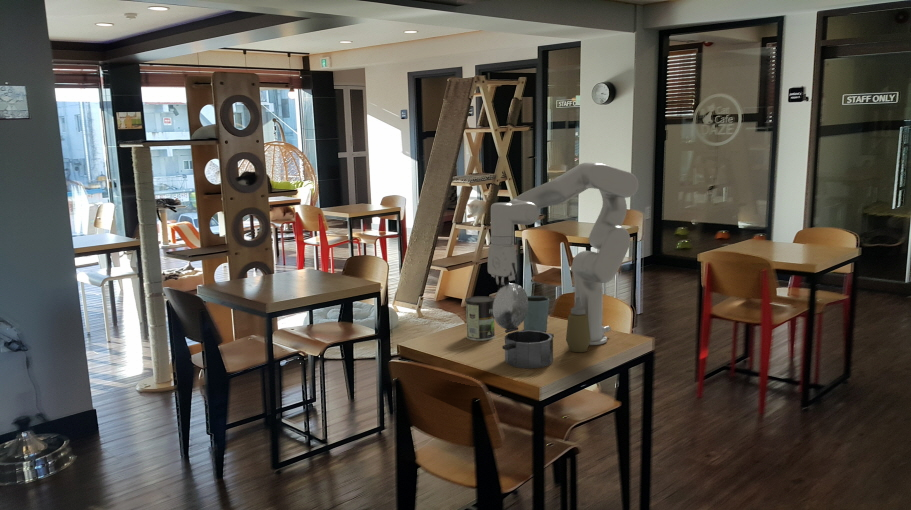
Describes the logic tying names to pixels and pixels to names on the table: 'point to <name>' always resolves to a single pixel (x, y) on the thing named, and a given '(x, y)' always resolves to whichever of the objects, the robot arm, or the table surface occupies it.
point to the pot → (528, 349)
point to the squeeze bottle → (578, 329)
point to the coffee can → (480, 318)
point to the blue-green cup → (536, 314)
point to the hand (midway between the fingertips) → (503, 295)
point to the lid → (510, 307)
